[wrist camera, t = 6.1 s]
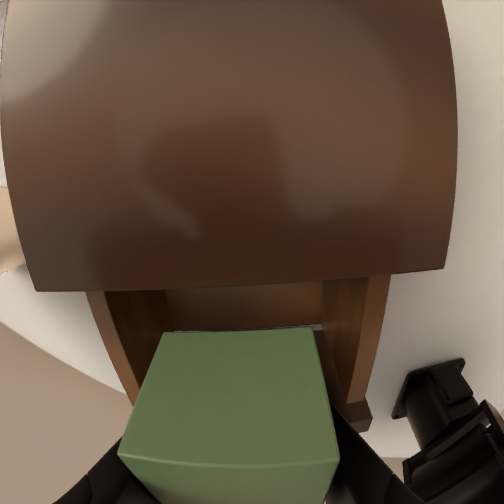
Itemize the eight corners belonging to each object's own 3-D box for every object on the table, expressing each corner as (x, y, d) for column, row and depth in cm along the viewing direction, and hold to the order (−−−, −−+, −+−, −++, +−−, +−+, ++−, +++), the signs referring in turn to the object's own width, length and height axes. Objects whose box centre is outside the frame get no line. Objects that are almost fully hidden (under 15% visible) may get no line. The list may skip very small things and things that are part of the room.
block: (306, 415, 10) (318, 517, 6) (191, 417, 10) (173, 516, 6) (312, 325, 8) (341, 459, 4) (163, 330, 9) (114, 453, 5)
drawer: (331, 385, 20) (352, 467, 14) (178, 392, 20) (160, 474, 14) (347, 119, 13) (424, 116, 7) (121, 137, 14) (33, 151, 7)
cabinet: (353, 197, 16) (444, 269, 8) (128, 213, 16) (35, 292, 8) (333, -37, 10) (389, -125, 2) (115, -17, 11) (34, -83, 2)
